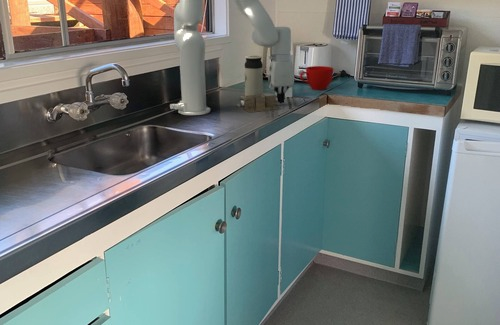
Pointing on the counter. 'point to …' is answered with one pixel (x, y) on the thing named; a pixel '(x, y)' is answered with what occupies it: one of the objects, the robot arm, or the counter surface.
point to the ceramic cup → (318, 77)
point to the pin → (243, 101)
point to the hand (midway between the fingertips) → (280, 102)
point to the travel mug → (253, 75)
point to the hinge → (259, 102)
